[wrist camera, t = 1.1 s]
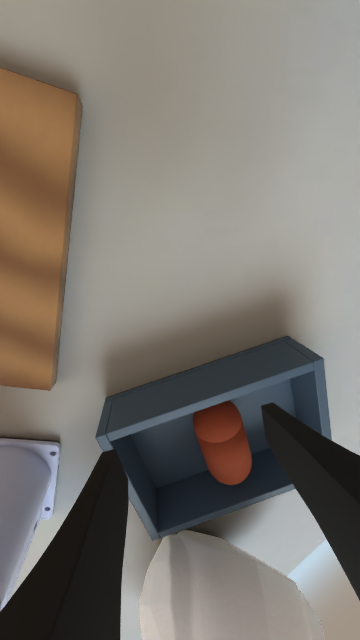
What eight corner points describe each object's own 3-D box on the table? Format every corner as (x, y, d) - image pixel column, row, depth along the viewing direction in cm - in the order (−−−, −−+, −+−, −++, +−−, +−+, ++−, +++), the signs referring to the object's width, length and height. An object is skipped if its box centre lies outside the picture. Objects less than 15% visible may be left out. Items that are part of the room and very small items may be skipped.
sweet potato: (244, 447, 24) (264, 486, 20) (206, 460, 24) (218, 503, 20) (226, 380, 22) (245, 411, 18) (183, 395, 21) (192, 429, 17)
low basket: (151, 490, 25) (152, 541, 21) (105, 397, 21) (94, 437, 17) (303, 435, 26) (335, 474, 21) (288, 335, 22) (323, 358, 17)
